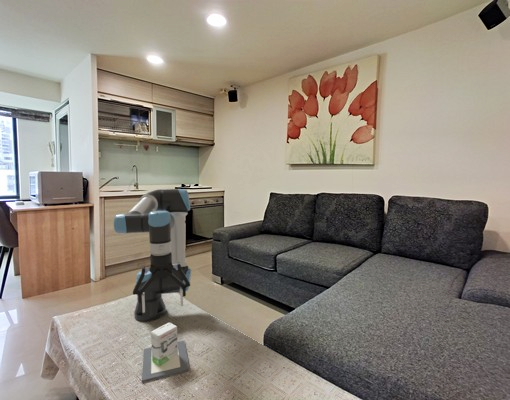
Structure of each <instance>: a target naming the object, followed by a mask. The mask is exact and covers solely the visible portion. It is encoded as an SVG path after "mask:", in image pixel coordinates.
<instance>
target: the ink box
mask: <svg viewBox="0 0 510 400" xmlns="http://www.w3.org/2000/svg"><path fill="white" fill-rule="evenodd" d="M150 339H151V341H150V342H151V347H152V361H153V362H154V363H156V364H157V365H159V366H160V365H162V364H164V363H165V362H167V361H168V360H170V359H171V358H173V357H174V356H176V355H177V354H178V342H179V341H178V326H177V325H175V324H173V323H172V322H167V323H165V324H163V325H161V326H159V327H157V328H155V329H154V330H152V331H150Z"/></svg>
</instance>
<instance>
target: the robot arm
mask: <svg viewBox="0 0 510 400" xmlns="http://www.w3.org/2000/svg"><path fill="white" fill-rule="evenodd" d="M189 211H191V201H190V197H189V192H188V190H187V189H184V188H183V189H181V188H174V189H173V188H172V189H171V188H170V189H169V188H168V189H167V188H166V189H163V188H162V189H154V190H151V191H148V192H147V193H145V194H143V195H142V196H141V197H140V198H138V201H137V204H135V205H134V206H133V207H132V208H131V209H130V210H129V211H128V212H127V213H121V214H120V213H119V214H116V215H115V216H114V218H113V229H114V231H115V233H117V234H140V233H149V234H148V236H149V253H150V256H149V257H150V258H149V260H150V262H149V263H150V267H146V266H142V267H141V270H140V271H138V272H137V274H136V280H135V286H134V288H133V290H132V294H133V295H136V297H137V298H136V301H137V302H136V305H135V307H134V312H133V314H134V317H133V318H134V319H135V320H137V321H140V322H150V321H153V320H157V319H159V318H161V317H163V316H164V315H165V314H166V312H167V309H166V303H165V302H164V298H163V295H162V294H175V293H177V294H179V295H180V297H179V299H180V301H179V302H180V307H184V297H186V295H187V293H186V292H188V291H189V289H190V286H191V277H192V268H190V267H189V264H188V263H187V262H186V216H187V215H188V214H189V213H188V212H189Z"/></svg>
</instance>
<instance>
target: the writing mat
mask: <svg viewBox="0 0 510 400" xmlns="http://www.w3.org/2000/svg"><path fill="white" fill-rule="evenodd" d="M141 370H142V371H141V383H145V382H150V381H154V380H157V379H161V378H166V377H171V376H173V375H178V374H182V373H185V372H190V364H189V359H188V353H187V348H186V342H185V340H180V341H178V354H177V355H176V356H174V357H173V358H171V359H170V360H168V361H167V362H165V363H164V364H162V365H160V366H159V365H157V364H156V363H154V362H153V361H152V346H151V347H147V348H143V358H142V369H141Z"/></svg>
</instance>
